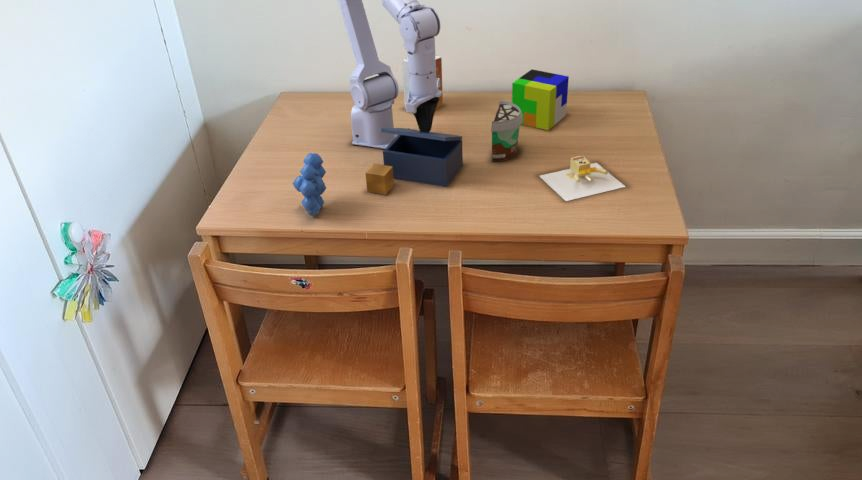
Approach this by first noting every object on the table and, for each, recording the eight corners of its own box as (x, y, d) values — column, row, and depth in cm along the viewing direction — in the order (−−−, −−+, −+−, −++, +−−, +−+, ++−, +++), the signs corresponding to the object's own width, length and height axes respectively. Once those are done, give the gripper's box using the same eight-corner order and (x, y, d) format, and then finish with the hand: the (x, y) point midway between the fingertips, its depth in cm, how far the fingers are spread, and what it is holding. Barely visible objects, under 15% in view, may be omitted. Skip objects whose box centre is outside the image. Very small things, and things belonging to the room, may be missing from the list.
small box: (420, 115, 193) (418, 65, 185) (404, 108, 197) (400, 59, 189) (443, 105, 197) (442, 56, 190) (427, 99, 201) (424, 50, 193)
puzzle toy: (566, 115, 191) (568, 76, 185) (548, 130, 184) (550, 90, 178) (530, 107, 195) (531, 69, 189) (511, 121, 188) (512, 82, 182)
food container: (518, 165, 170) (519, 124, 164) (491, 164, 171) (491, 122, 165) (524, 141, 180) (526, 101, 174) (499, 139, 181) (499, 99, 175)
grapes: (303, 194, 163) (295, 143, 156) (334, 195, 162) (327, 143, 155) (289, 223, 154) (279, 170, 146) (322, 224, 153) (314, 171, 146)
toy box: (447, 187, 163) (446, 160, 160) (384, 177, 168) (382, 151, 164) (462, 165, 171) (462, 140, 167) (403, 156, 175) (401, 131, 172)
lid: (445, 141, 157) (445, 137, 157) (380, 132, 161) (381, 128, 161) (462, 139, 167) (462, 136, 167) (400, 131, 171) (401, 127, 171)
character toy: (579, 174, 158) (560, 158, 164) (578, 188, 160) (560, 172, 166) (612, 166, 160) (593, 151, 166) (611, 180, 162) (592, 164, 168)
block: (367, 192, 163) (365, 172, 160) (375, 182, 166) (374, 163, 163) (386, 195, 161) (384, 175, 159) (394, 185, 165) (392, 166, 162)
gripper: (427, 85, 151) (430, 147, 159) (452, 59, 161) (454, 119, 170) (394, 81, 153) (399, 143, 161) (421, 56, 163) (424, 115, 172)
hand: (425, 131), depth 165 cm, fingers closed
